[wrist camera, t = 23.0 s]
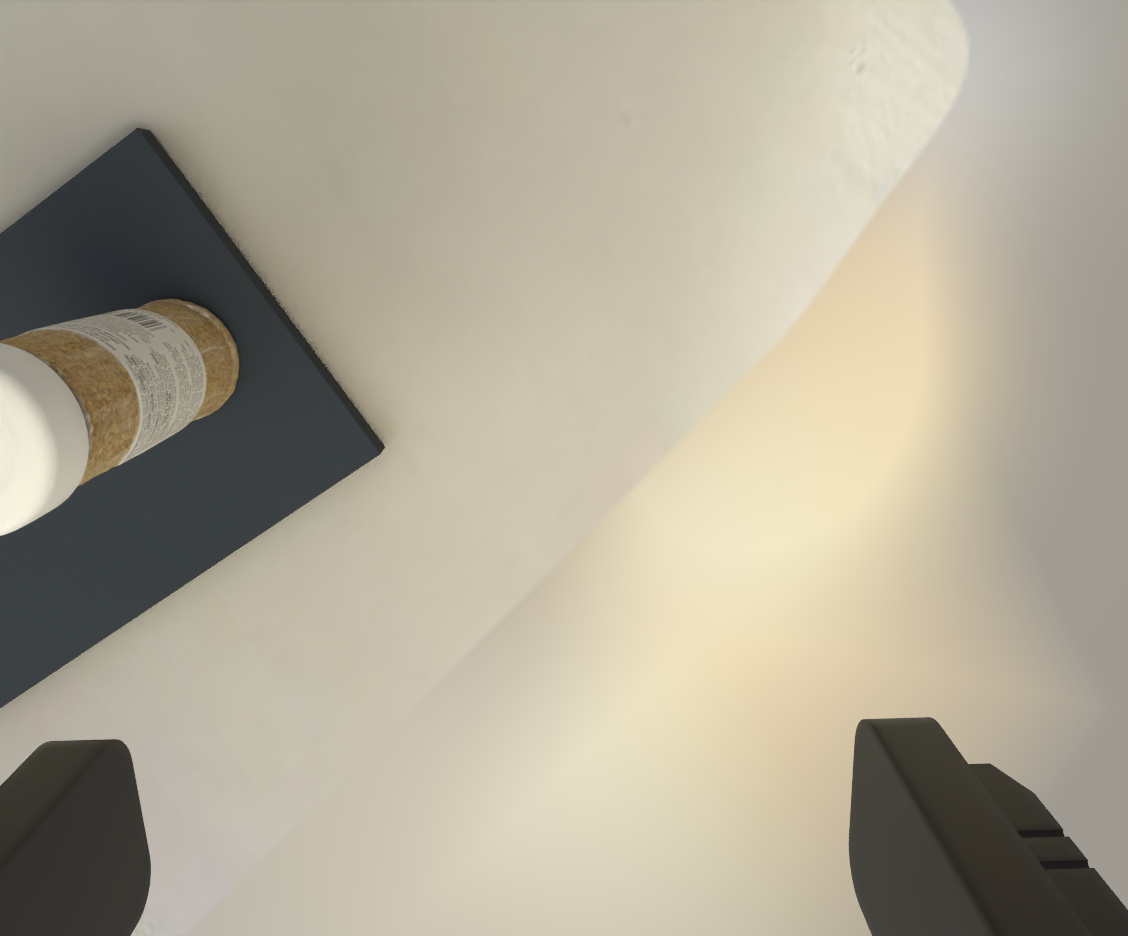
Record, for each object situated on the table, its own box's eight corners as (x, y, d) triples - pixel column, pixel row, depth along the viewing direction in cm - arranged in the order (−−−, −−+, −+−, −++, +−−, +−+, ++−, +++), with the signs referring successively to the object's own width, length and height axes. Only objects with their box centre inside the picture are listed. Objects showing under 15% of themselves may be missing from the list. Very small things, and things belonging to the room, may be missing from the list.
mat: (150, 129, 33) (137, 127, 32) (385, 447, 36) (380, 454, 35) (-316, 488, 36) (-340, 495, 35) (-64, 748, 39) (-80, 761, 38)
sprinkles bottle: (105, 390, 34) (-173, 500, 21) (140, 275, 33) (-132, 319, 20) (223, 437, 35) (22, 574, 22) (261, 326, 34) (72, 400, 21)
